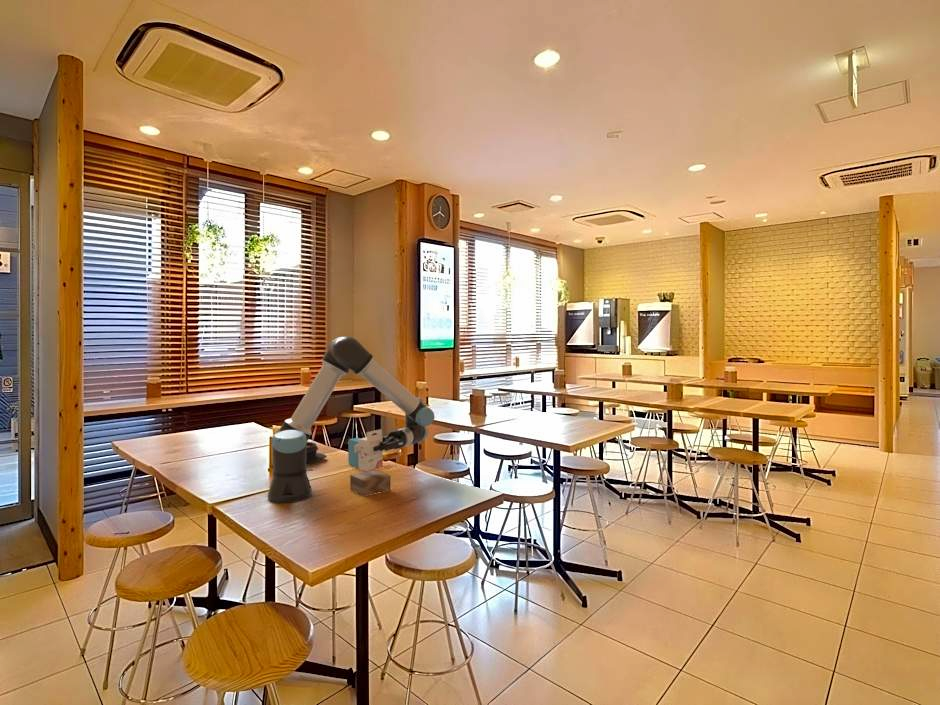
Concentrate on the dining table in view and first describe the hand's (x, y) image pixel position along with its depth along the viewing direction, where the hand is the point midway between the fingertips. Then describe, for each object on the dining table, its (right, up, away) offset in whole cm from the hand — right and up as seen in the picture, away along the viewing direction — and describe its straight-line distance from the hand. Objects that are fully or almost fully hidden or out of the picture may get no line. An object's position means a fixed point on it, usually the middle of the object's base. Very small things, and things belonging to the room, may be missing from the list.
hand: (360, 449), depth 186 cm
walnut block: (+3, -17, +5) cm, 18 cm away
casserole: (-39, -15, +46) cm, 62 cm away
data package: (-9, -16, +40) cm, 44 cm away
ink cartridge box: (+3, -8, +5) cm, 10 cm away
